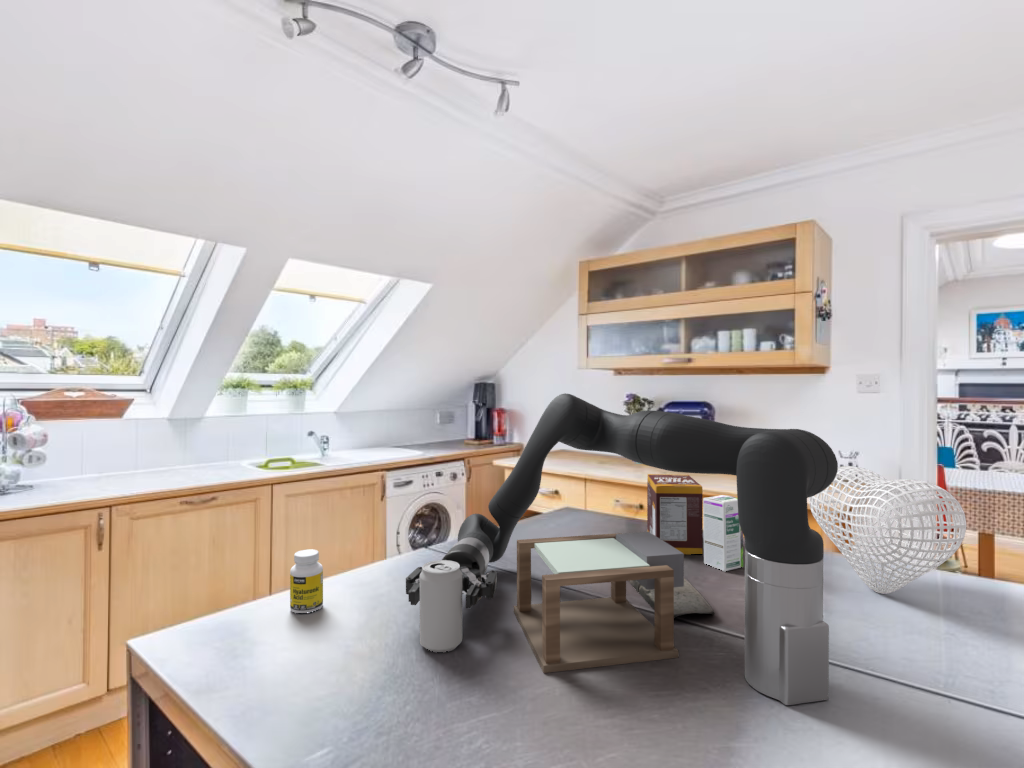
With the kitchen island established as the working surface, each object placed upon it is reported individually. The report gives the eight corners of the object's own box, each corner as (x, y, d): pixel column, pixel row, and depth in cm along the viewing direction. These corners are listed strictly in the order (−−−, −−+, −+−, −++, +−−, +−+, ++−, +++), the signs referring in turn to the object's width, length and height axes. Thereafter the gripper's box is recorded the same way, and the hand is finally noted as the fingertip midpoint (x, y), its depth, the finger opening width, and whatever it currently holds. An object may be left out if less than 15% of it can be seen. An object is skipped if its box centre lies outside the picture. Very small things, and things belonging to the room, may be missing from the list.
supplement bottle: (288, 616, 94) (287, 559, 93) (292, 604, 99) (291, 549, 99) (322, 612, 95) (321, 556, 95) (324, 600, 100) (323, 546, 100)
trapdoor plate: (687, 588, 83) (687, 555, 83) (558, 600, 79) (558, 565, 79) (646, 558, 97) (646, 530, 97) (534, 567, 93) (534, 537, 93)
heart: (792, 568, 116) (792, 462, 115) (859, 564, 118) (859, 460, 118) (906, 629, 88) (907, 489, 88) (990, 622, 90) (991, 486, 90)
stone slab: (660, 612, 90) (613, 548, 120) (660, 631, 91) (613, 562, 121) (722, 611, 91) (660, 548, 121) (721, 630, 91) (659, 562, 121)
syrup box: (725, 572, 114) (725, 501, 113) (702, 564, 119) (702, 496, 118) (743, 567, 116) (744, 498, 116) (721, 559, 122) (721, 493, 121)
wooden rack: (678, 657, 80) (678, 570, 79) (543, 673, 76) (543, 581, 75) (623, 601, 99) (623, 532, 99) (513, 611, 95) (513, 539, 95)
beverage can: (442, 630, 88) (441, 555, 88) (471, 643, 84) (471, 564, 84) (411, 646, 83) (410, 566, 83) (440, 659, 79) (440, 576, 79)
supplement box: (688, 535, 140) (688, 473, 139) (703, 555, 124) (703, 486, 124) (646, 534, 141) (646, 473, 141) (655, 554, 125) (656, 485, 125)
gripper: (426, 541, 100) (394, 573, 84) (504, 544, 98) (486, 577, 82) (426, 583, 100) (394, 622, 84) (504, 587, 98) (487, 628, 82)
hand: (440, 600), depth 83 cm, fingers open, 8 cm apart
